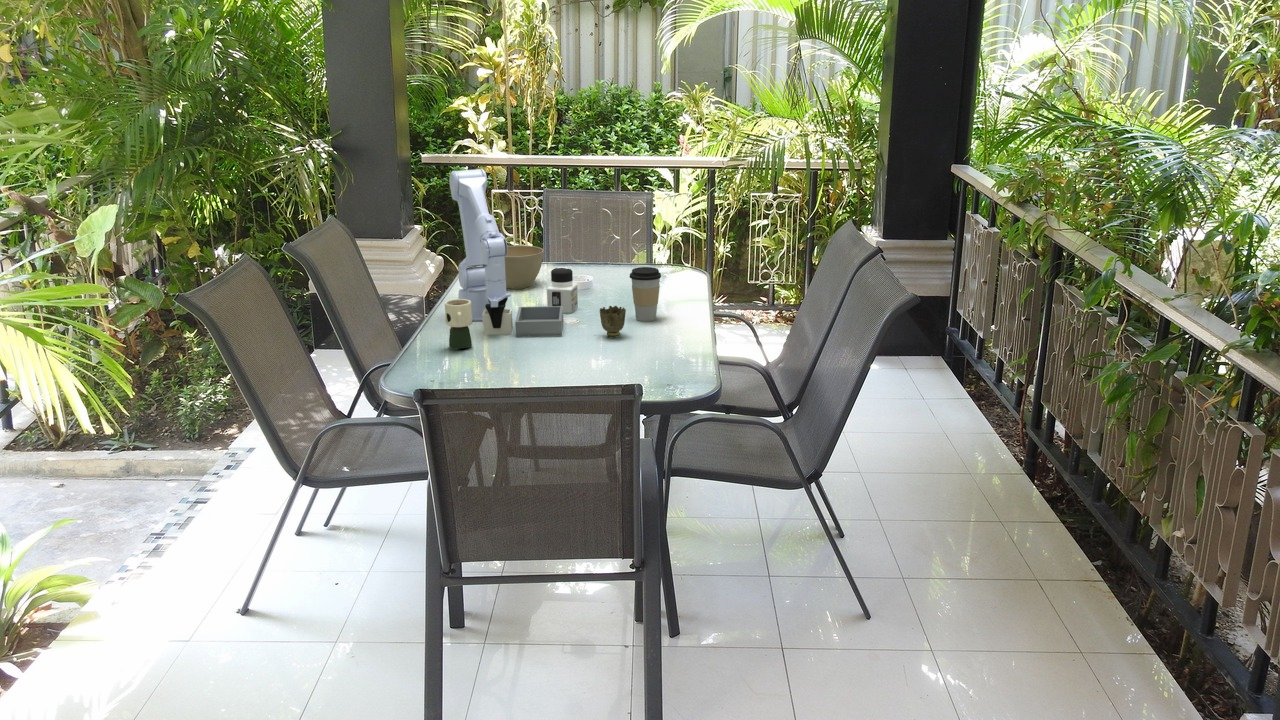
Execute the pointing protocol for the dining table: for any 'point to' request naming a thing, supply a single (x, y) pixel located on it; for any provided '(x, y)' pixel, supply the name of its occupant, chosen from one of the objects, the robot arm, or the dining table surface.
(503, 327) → the cream crate
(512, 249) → the flower pot
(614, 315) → the cup
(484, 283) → the robot arm
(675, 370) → the dining table surface
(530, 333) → the grey crate
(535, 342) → the dining table surface
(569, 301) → the container
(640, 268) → the coffee cup
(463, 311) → the character mug
